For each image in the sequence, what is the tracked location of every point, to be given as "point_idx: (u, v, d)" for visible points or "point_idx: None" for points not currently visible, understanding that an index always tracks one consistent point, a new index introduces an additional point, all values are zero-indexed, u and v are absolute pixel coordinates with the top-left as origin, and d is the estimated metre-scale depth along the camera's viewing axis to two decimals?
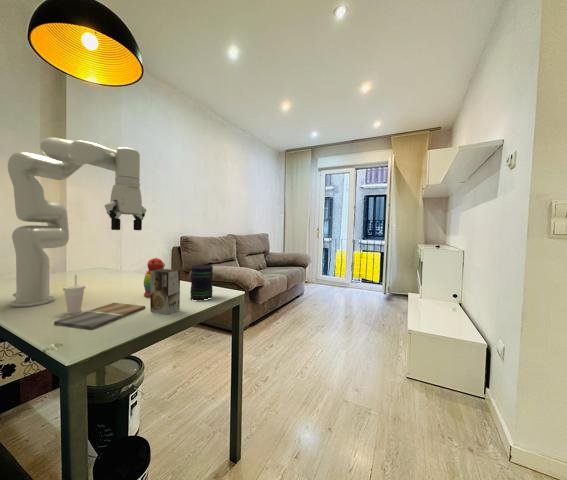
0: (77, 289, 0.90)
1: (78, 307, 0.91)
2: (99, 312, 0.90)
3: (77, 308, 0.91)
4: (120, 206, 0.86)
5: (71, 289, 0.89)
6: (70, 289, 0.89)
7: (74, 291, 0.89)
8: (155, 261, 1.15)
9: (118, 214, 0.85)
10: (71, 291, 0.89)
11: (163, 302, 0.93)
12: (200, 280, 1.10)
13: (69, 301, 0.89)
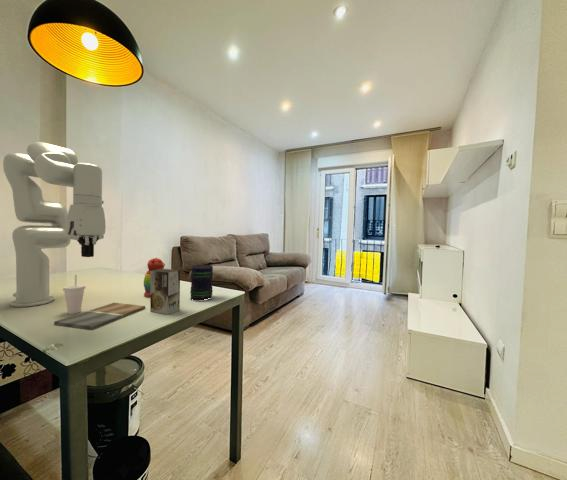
0: (77, 289, 0.90)
1: (78, 307, 0.91)
2: (99, 312, 0.90)
3: (77, 308, 0.91)
4: (77, 228, 0.78)
5: (71, 289, 0.89)
6: (70, 289, 0.89)
7: (74, 291, 0.89)
8: (155, 261, 1.15)
9: (86, 240, 0.81)
10: (71, 291, 0.89)
11: (163, 302, 0.93)
12: (200, 280, 1.10)
13: (69, 301, 0.89)
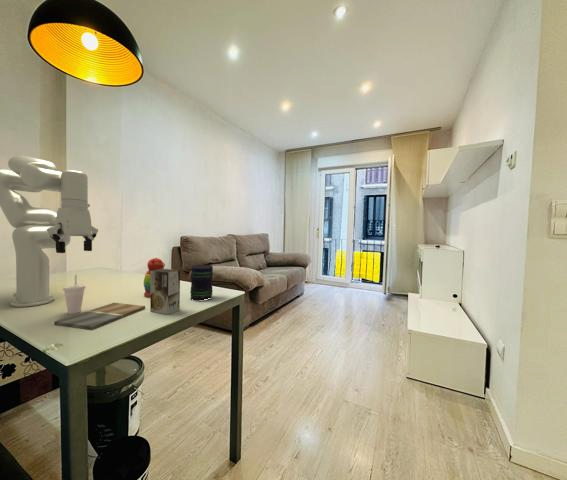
0: (77, 289, 0.90)
1: (78, 307, 0.91)
2: (99, 312, 0.90)
3: (77, 308, 0.91)
4: (64, 229, 0.86)
5: (71, 289, 0.89)
6: (70, 289, 0.89)
7: (74, 291, 0.89)
8: (155, 261, 1.15)
9: (62, 237, 0.86)
10: (71, 291, 0.89)
11: (163, 302, 0.93)
12: (200, 280, 1.10)
13: (69, 301, 0.89)
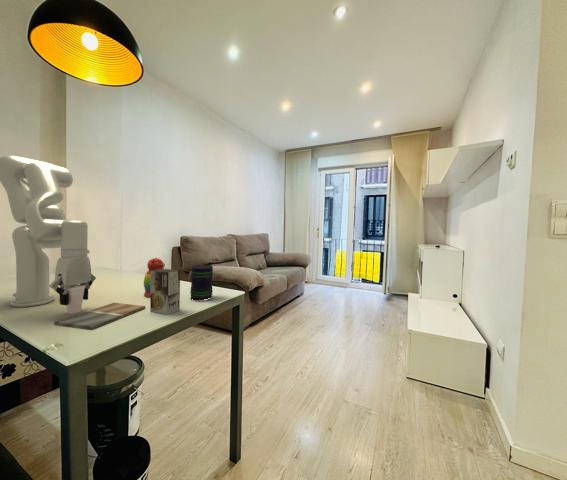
0: (77, 289, 0.90)
1: (79, 307, 0.91)
2: (99, 312, 0.90)
3: (77, 308, 0.91)
4: (64, 280, 0.86)
5: (71, 289, 0.89)
6: (70, 289, 0.89)
7: (74, 291, 0.89)
8: (155, 261, 1.15)
9: (65, 290, 0.87)
10: (71, 291, 0.89)
11: (163, 302, 0.93)
12: (200, 280, 1.10)
13: (69, 301, 0.89)
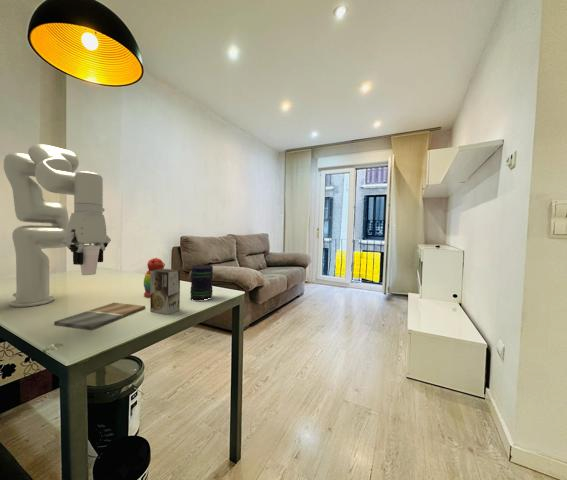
0: (92, 248, 0.81)
1: (94, 268, 0.83)
2: (99, 312, 0.90)
3: (92, 270, 0.82)
4: (78, 236, 0.78)
5: (86, 247, 0.80)
6: (85, 247, 0.80)
7: (89, 250, 0.81)
8: (155, 261, 1.15)
9: (79, 247, 0.79)
10: (86, 250, 0.80)
11: (163, 302, 0.93)
12: (200, 280, 1.10)
13: (83, 261, 0.81)
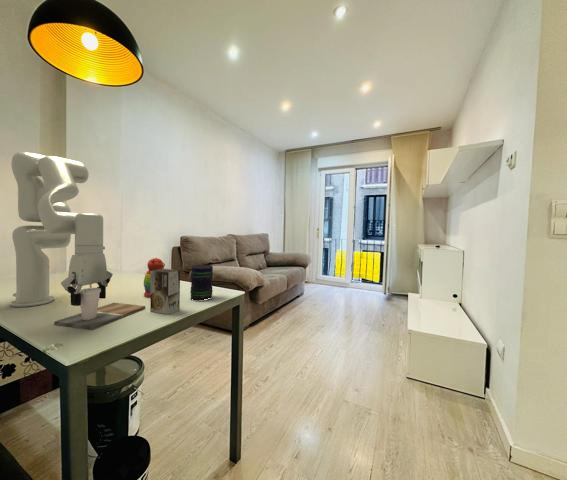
0: (92, 293, 0.82)
1: (94, 312, 0.83)
2: (99, 312, 0.90)
3: (92, 314, 0.83)
4: (79, 279, 0.78)
5: (86, 293, 0.81)
6: (85, 293, 0.81)
7: (89, 295, 0.81)
8: (155, 261, 1.15)
9: (78, 289, 0.78)
10: (86, 295, 0.81)
11: (163, 302, 0.93)
12: (200, 280, 1.10)
13: (83, 306, 0.81)
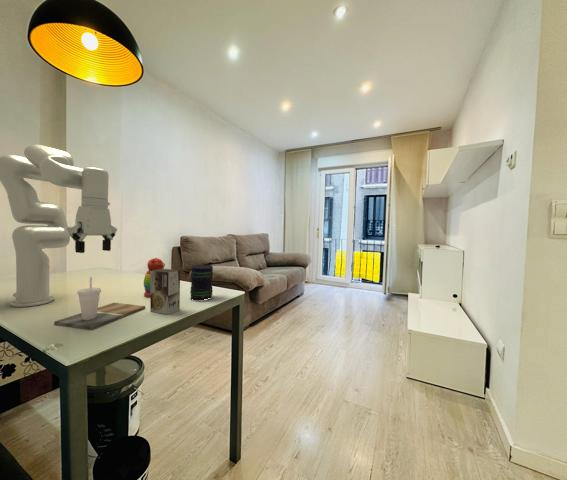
0: (92, 293, 0.82)
1: (94, 312, 0.83)
2: (99, 312, 0.90)
3: (92, 314, 0.83)
4: (84, 228, 0.83)
5: (86, 293, 0.81)
6: (85, 293, 0.81)
7: (89, 295, 0.81)
8: (155, 261, 1.15)
9: (82, 237, 0.83)
10: (86, 295, 0.81)
11: (163, 302, 0.93)
12: (200, 280, 1.10)
13: (83, 306, 0.81)
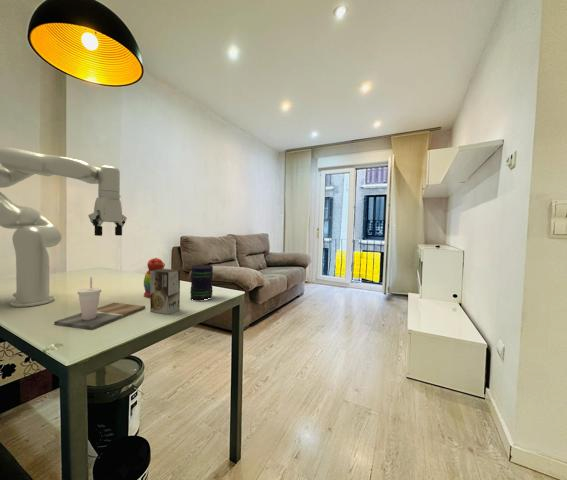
0: (93, 293, 0.82)
1: (94, 312, 0.83)
2: (99, 312, 0.90)
3: (92, 314, 0.83)
4: (102, 215, 1.02)
5: (86, 293, 0.81)
6: (85, 293, 0.81)
7: (89, 295, 0.81)
8: (155, 261, 1.15)
9: (100, 222, 1.02)
10: (86, 295, 0.81)
11: (163, 302, 0.93)
12: (200, 280, 1.10)
13: (84, 306, 0.81)
